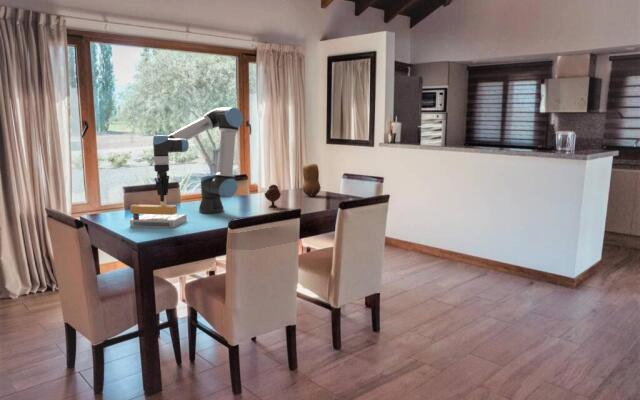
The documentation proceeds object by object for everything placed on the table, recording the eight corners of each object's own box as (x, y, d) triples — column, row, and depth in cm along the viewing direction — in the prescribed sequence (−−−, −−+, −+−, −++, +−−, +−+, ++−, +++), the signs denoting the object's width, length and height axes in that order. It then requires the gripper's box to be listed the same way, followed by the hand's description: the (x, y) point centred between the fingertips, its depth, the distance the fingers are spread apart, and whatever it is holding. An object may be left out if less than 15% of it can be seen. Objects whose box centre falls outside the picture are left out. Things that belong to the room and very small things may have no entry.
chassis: (146, 220, 277) (145, 208, 276) (186, 221, 274) (186, 209, 272) (129, 227, 259) (129, 214, 258) (172, 228, 256) (172, 215, 254)
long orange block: (134, 211, 264) (133, 204, 263) (177, 212, 261) (176, 205, 260) (128, 213, 258) (128, 206, 257) (172, 214, 255) (172, 207, 254)
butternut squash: (306, 194, 377) (306, 162, 373) (322, 195, 373) (322, 163, 369) (300, 197, 364) (299, 163, 360) (316, 198, 360) (316, 164, 356)
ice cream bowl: (262, 206, 323) (262, 184, 320) (278, 205, 326) (278, 183, 324) (266, 209, 313) (266, 186, 310) (283, 208, 317) (283, 185, 314)
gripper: (160, 162, 268) (162, 204, 272) (149, 164, 255) (151, 208, 259) (173, 163, 267) (175, 205, 271) (162, 165, 254) (164, 209, 258)
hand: (163, 207), depth 265 cm, fingers closed
